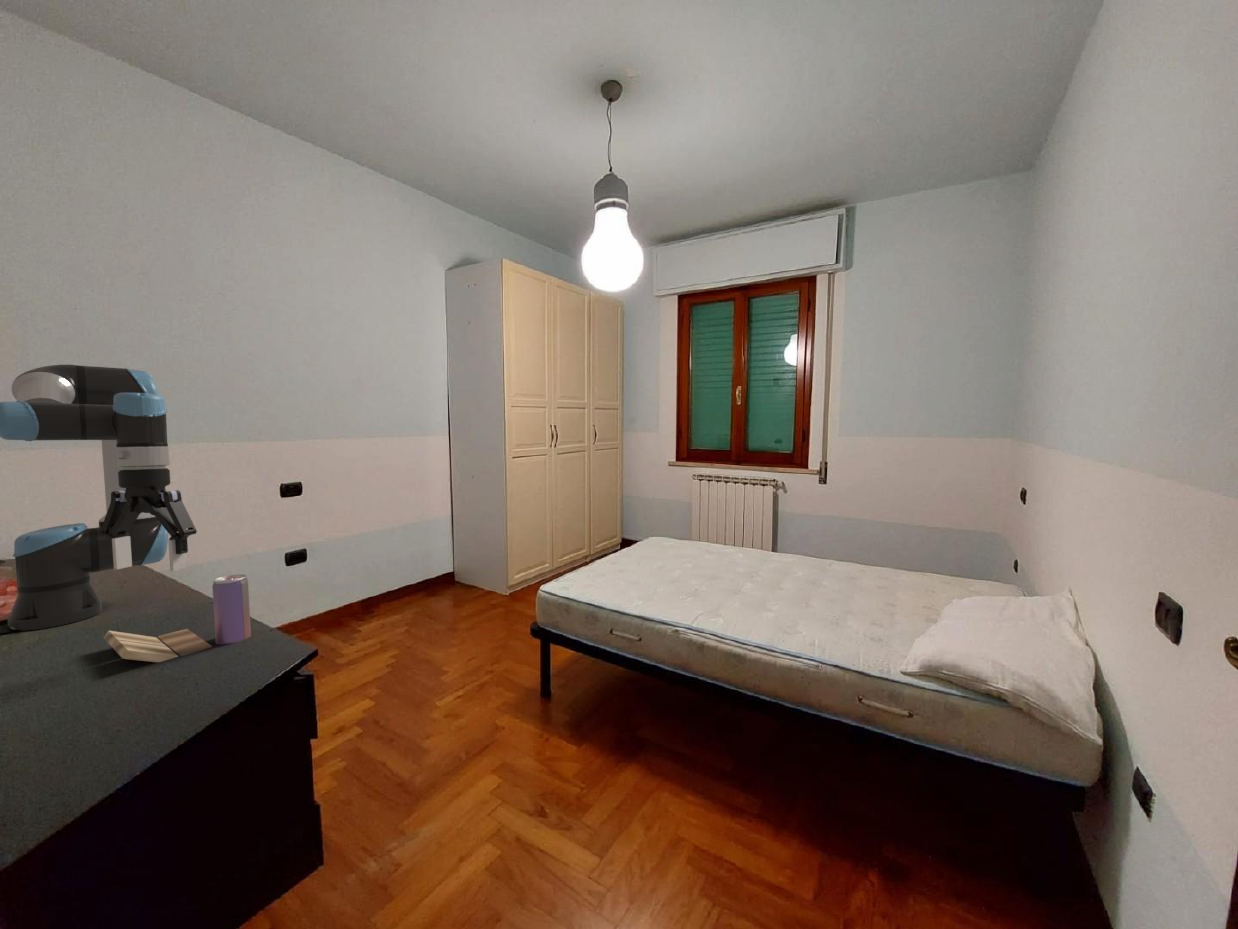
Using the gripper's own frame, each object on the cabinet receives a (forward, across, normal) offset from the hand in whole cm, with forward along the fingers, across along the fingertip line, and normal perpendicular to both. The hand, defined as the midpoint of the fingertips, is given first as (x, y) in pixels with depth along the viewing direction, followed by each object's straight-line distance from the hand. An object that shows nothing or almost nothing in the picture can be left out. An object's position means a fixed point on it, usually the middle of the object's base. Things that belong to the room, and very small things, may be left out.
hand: (150, 568), depth 97 cm
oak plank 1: (+16, -3, -2) cm, 16 cm away
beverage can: (+18, +13, +6) cm, 23 cm away
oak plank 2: (+16, +4, -5) cm, 17 cm away
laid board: (+18, +4, +3) cm, 19 cm away
